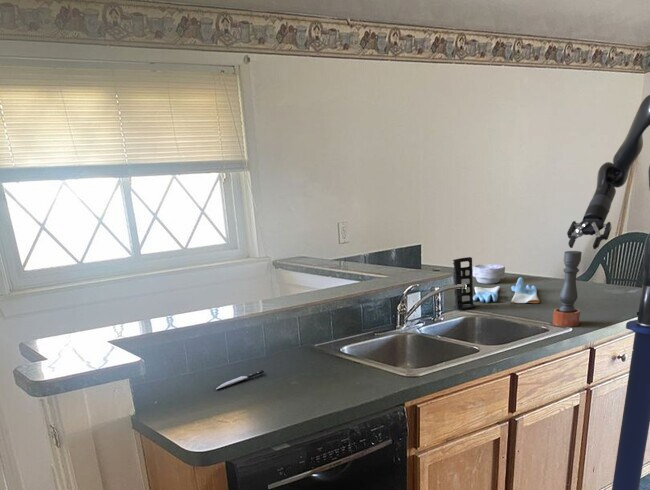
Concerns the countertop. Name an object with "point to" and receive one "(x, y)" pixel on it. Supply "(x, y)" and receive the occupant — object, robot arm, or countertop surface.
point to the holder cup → (566, 318)
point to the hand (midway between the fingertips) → (582, 247)
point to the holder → (458, 281)
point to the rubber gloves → (520, 291)
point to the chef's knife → (239, 379)
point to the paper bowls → (488, 273)
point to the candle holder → (570, 281)
